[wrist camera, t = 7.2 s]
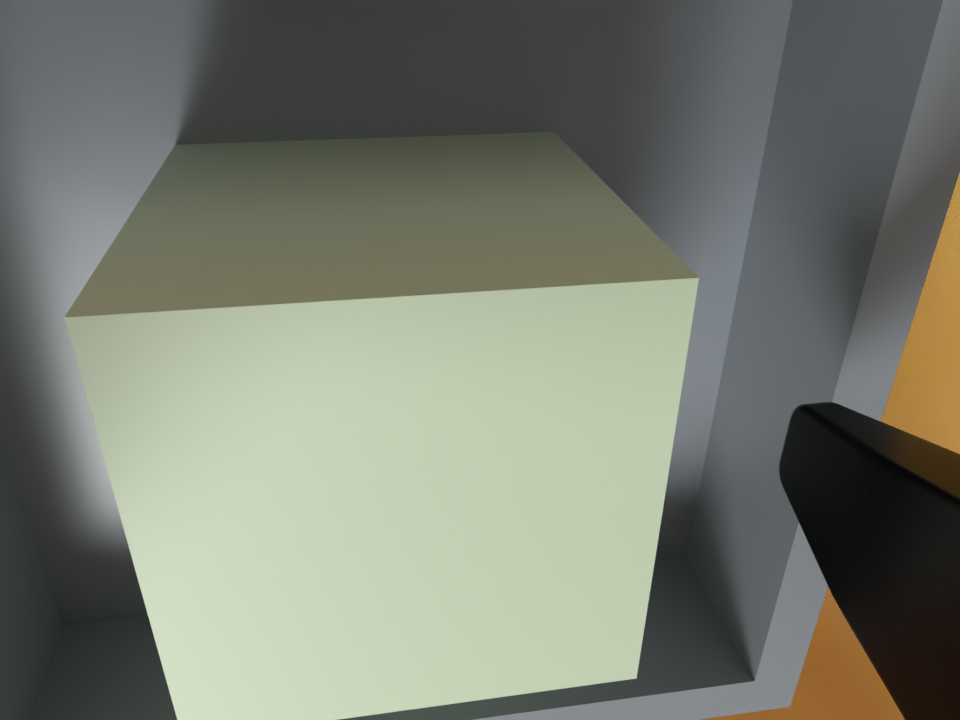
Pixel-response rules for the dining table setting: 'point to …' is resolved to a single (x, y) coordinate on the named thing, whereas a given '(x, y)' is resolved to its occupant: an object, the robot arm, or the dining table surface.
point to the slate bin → (494, 110)
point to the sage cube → (386, 420)
